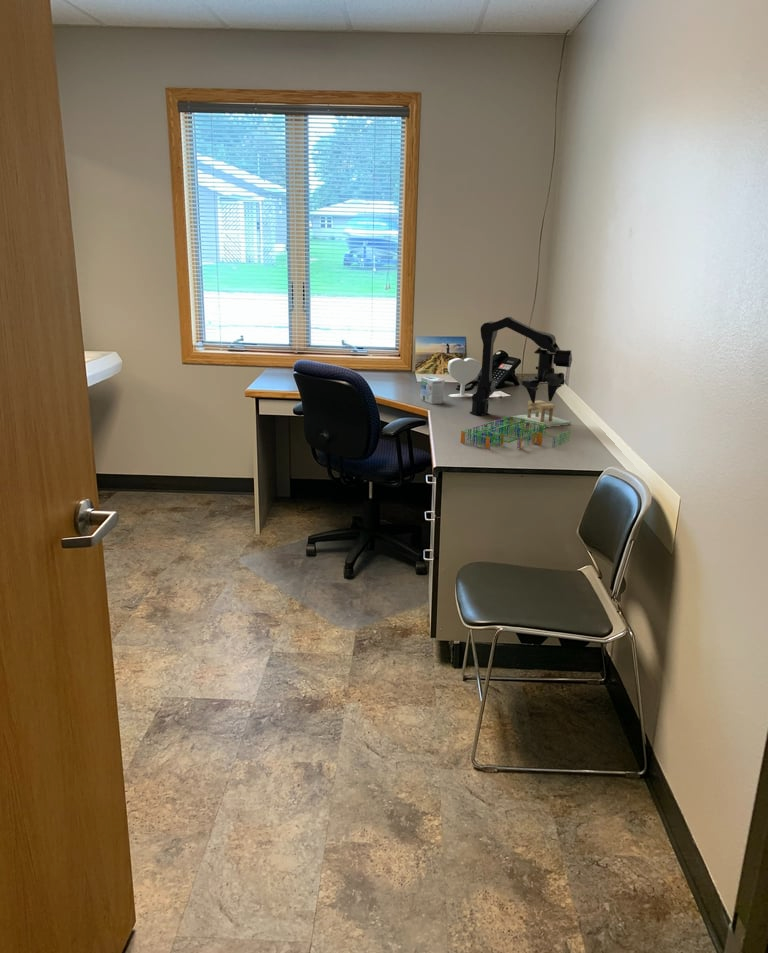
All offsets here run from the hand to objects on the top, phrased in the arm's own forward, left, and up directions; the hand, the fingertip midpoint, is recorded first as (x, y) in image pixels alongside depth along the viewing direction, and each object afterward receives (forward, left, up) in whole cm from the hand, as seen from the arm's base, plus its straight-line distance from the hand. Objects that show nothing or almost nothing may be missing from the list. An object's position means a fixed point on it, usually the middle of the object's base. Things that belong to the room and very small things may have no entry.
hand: (541, 402), depth 314 cm
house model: (-29, -20, -9) cm, 36 cm away
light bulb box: (-20, +52, -9) cm, 57 cm away
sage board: (0, 0, -9) cm, 9 cm away
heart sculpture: (+1, +57, -9) cm, 58 cm away
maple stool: (0, 0, -7) cm, 7 cm away
